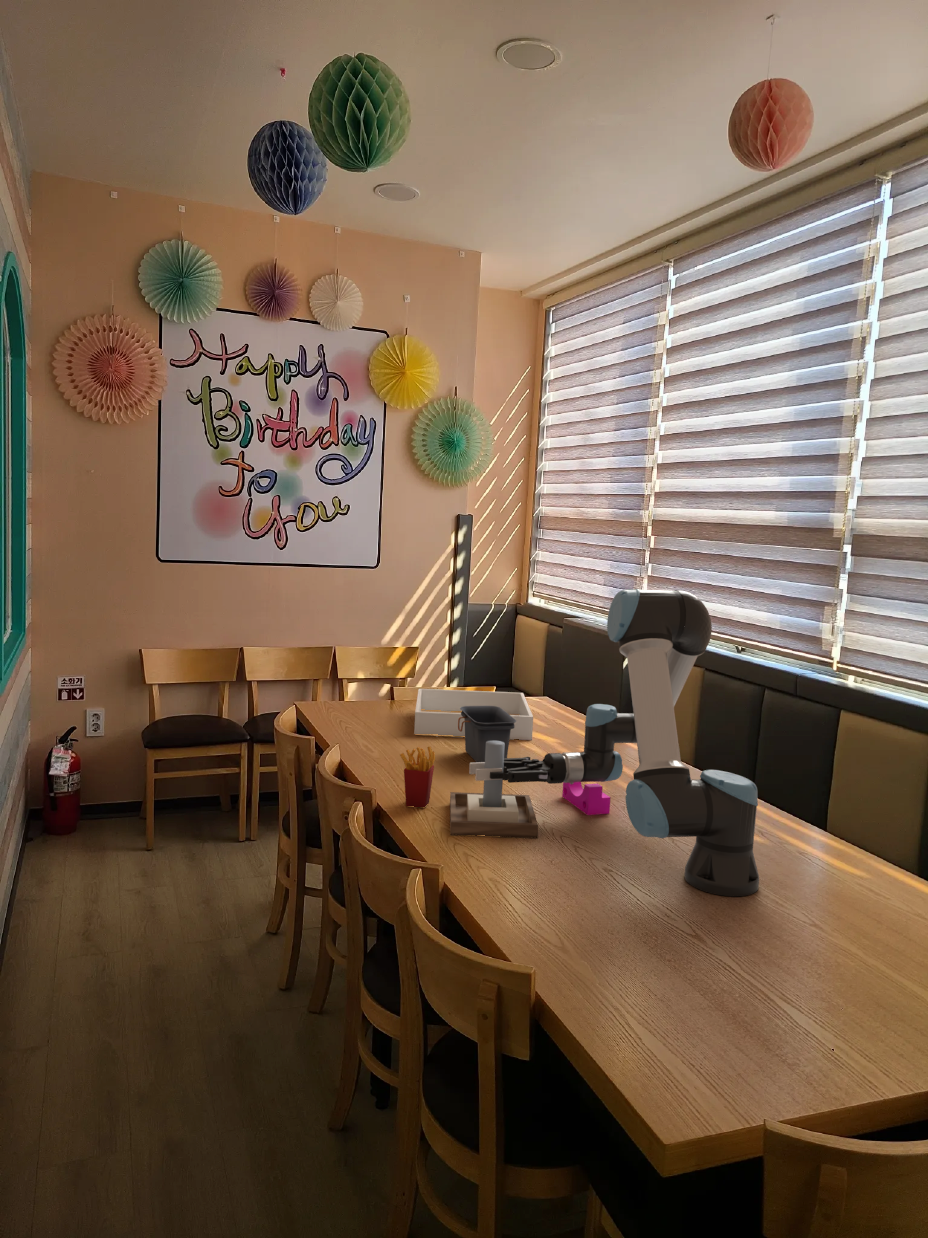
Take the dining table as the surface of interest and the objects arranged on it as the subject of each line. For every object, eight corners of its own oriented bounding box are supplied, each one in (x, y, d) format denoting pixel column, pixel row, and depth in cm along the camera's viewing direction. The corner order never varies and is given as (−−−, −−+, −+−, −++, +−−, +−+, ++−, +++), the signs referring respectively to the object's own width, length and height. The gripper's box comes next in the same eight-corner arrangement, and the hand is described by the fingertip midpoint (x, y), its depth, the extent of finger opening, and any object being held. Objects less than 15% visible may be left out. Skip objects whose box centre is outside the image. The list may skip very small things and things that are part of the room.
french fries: (427, 810, 229) (429, 752, 227) (395, 806, 230) (397, 749, 229) (435, 799, 237) (437, 743, 236) (404, 796, 239) (407, 740, 237)
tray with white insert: (537, 838, 213) (538, 825, 212) (450, 835, 212) (451, 822, 212) (528, 807, 235) (529, 795, 234) (449, 804, 234) (450, 792, 234)
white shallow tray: (532, 740, 304) (533, 716, 303) (414, 735, 303) (415, 712, 302) (522, 713, 343) (523, 692, 342) (417, 709, 342) (418, 688, 341)
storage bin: (517, 768, 270) (520, 721, 268) (467, 770, 266) (469, 722, 264) (495, 749, 290) (497, 705, 289) (449, 750, 286) (450, 706, 284)
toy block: (609, 814, 233) (611, 786, 232) (587, 816, 231) (589, 787, 230) (583, 796, 247) (584, 769, 246) (562, 797, 245) (563, 770, 244)
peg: (501, 809, 221) (505, 745, 219) (483, 809, 221) (486, 745, 219) (500, 803, 226) (504, 740, 224) (482, 802, 226) (485, 740, 224)
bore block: (517, 830, 218) (518, 811, 217) (467, 828, 217) (468, 810, 217) (513, 813, 230) (514, 796, 229) (466, 811, 229) (467, 794, 229)
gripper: (574, 793, 219) (482, 798, 213) (548, 772, 236) (462, 775, 230) (576, 763, 218) (484, 767, 212) (549, 744, 235) (463, 746, 229)
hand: (473, 771), depth 221 cm, fingers closed on peg, 4 cm apart
